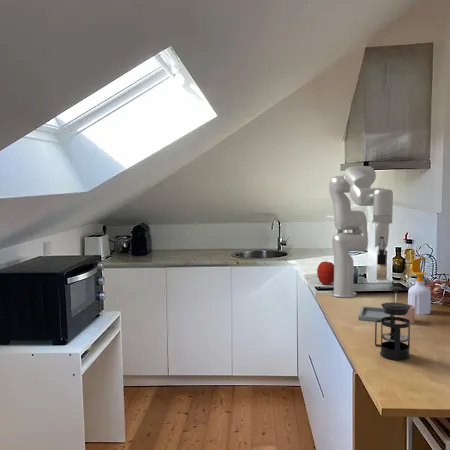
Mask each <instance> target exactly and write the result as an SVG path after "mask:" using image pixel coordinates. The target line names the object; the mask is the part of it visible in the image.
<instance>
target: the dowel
mask: <svg viewBox="0 0 450 450" xmlns="http://www.w3.org/2000/svg"><path fill="white" fill-rule="evenodd" d="M385 255H386V264H385V265H379V264H377V262H378V249H377V250H376V278H375V279H376V280H378V281H387V279H388V278H387V276H388V272H387V271H388V250H387V249H386V250H385Z"/></svg>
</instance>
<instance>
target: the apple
mask: <svg viewBox="0 0 450 450" xmlns="http://www.w3.org/2000/svg"><path fill="white" fill-rule="evenodd" d="M316 273H317V275H316V276H317V278H318V281H319V283H321V284H322V285H331V284H332V283H334V262H330V261H327V260H325V261H322V262H320V263H319V264H318V266H317V268H316Z"/></svg>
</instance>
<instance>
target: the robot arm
mask: <svg viewBox="0 0 450 450" xmlns="http://www.w3.org/2000/svg"><path fill="white" fill-rule="evenodd" d="M376 173H377V172H376V171H375V169H374V168H373V167H372V166H369V165H368V166H367V165H354V166H353V165H352V166H349V167H347V168H346V169H345V170H344V171H343V175H336V176H333V177H332V178H331V179H330V181H329V183H328V185H329V186H328V188H329V189H328V191H329V194H330V198H331V200H332V205H333V207H332V208H333V224H334V228H336V230H339V231H348V230H349V231H351V230H352V231H353V230H354V231H355V232H339V233H335V234H333V237H332V240H331V244H332V245H331V246H332V250H333V264H334V281H333V290H332V291H331V292H330V296H332V297H335V298H343V299H345V298H346V299H347V298H348V299H349V298H355V297H357V292H356V291H354V258H353V256H351V255H350V253H351V252H363V251H366V250H367V248H368V245H369V238H368V237H369V235H368V234H369V233H368V221H367V215H366V214H365V213H364V212H363V211H362V210H352V207H351V200H352V203H353V202H354V204H355V205H357V206H359V207H372V206H373V208H372V209H373V210H372V215H373V216H372V223H373V224H375V228H374V248H378V249H377V250H378V262H377V261H376V265H377V264H379V265H385V264H386V255H385V250H386V251H387V249H386V248H388V244H389V236H390V235H389V233H390V224H393V214H394V213H393V210H394V208H393V207H394V205H393V204H394V193H393V190H392V189H389V188H383V187H372V185H373V184H374V182H375V181H376V177H377V174H376ZM347 193H348V194H349V197H350V198H349V197H348V196H347V195H346V194H347Z"/></svg>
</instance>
